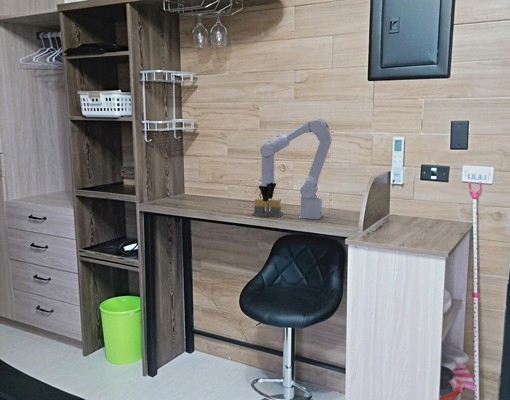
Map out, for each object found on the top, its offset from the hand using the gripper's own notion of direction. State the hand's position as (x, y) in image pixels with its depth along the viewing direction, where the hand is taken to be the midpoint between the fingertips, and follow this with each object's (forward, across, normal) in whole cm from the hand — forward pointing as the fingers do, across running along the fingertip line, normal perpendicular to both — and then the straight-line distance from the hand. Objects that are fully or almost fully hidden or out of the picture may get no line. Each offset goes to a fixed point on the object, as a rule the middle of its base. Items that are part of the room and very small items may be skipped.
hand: (267, 199), depth 237 cm
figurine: (+7, -16, -7) cm, 19 cm away
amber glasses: (+3, -1, 0) cm, 3 cm away
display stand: (+7, 0, 0) cm, 7 cm away
